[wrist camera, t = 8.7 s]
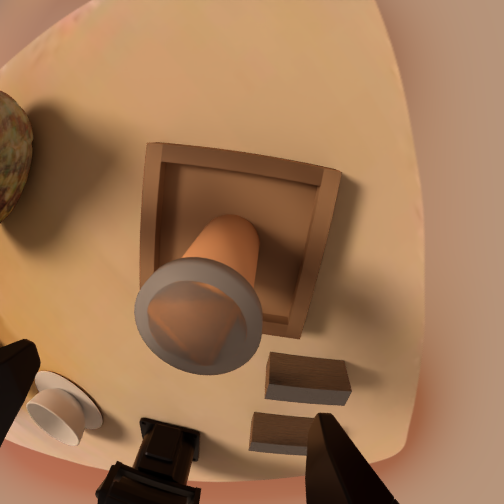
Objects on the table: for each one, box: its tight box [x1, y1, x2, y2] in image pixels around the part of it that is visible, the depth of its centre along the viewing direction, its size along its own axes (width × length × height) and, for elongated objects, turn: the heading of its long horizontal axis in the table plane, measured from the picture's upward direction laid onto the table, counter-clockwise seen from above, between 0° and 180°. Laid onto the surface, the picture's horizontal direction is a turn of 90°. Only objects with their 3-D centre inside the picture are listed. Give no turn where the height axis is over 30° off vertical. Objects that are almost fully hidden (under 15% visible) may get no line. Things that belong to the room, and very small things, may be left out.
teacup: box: [27, 371, 103, 446], centre depth 26 cm, size 10×10×5 cm
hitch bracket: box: [249, 352, 352, 456], centre depth 22 cm, size 9×6×4 cm, turn 171°
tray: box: [140, 142, 342, 339], centre depth 19 cm, size 11×11×2 cm
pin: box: [134, 214, 263, 375], centre depth 14 cm, size 5×5×9 cm
